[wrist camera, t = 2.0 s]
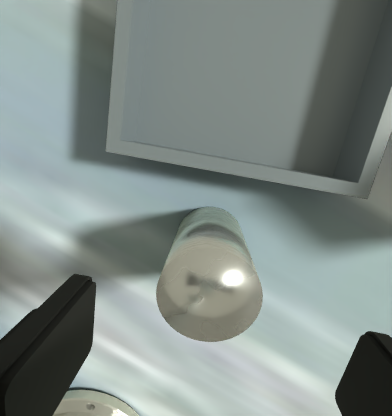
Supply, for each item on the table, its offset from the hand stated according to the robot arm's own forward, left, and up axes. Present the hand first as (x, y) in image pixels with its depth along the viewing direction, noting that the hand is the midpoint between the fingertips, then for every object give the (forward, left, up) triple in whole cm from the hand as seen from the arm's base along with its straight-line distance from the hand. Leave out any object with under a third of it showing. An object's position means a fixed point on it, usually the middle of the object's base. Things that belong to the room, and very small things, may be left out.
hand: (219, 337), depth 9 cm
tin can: (-1, 0, -11) cm, 11 cm away
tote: (+13, 0, -11) cm, 17 cm away
